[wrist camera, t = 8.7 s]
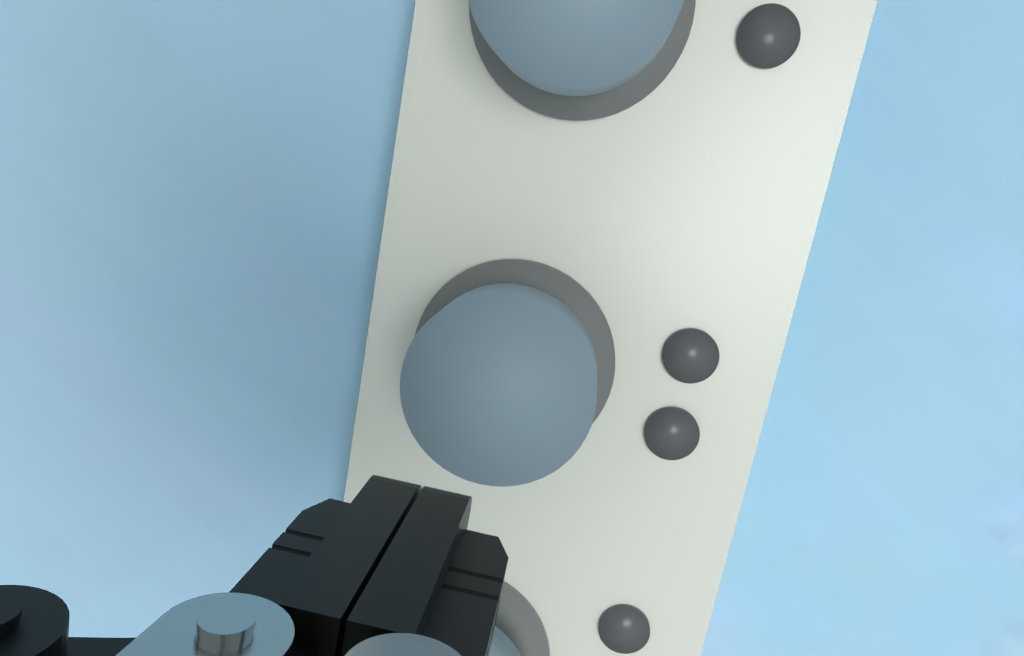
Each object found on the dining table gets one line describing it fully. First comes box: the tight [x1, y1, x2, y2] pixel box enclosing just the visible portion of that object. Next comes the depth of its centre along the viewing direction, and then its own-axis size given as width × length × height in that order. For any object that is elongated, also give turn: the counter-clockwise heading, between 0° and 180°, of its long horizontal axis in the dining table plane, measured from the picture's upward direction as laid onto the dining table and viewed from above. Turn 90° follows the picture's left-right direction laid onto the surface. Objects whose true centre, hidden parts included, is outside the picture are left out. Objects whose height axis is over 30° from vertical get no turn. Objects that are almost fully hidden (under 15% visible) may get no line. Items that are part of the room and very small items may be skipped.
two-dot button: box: [400, 284, 598, 487], centre depth 20 cm, size 5×5×2 cm
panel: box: [343, 0, 878, 656], centre depth 24 cm, size 12×30×3 cm, turn 169°
